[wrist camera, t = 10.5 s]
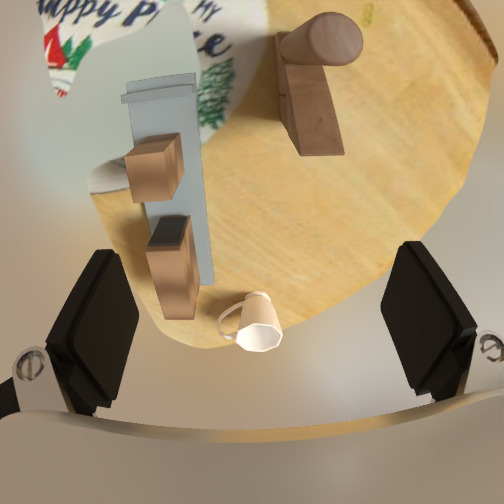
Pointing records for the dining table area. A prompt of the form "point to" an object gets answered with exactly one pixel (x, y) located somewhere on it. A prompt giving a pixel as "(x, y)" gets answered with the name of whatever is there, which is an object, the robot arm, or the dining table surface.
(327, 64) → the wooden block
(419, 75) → the dining table surface
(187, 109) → the rail
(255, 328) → the cup
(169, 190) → the brown rectangular block
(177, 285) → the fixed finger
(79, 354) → the robot arm
